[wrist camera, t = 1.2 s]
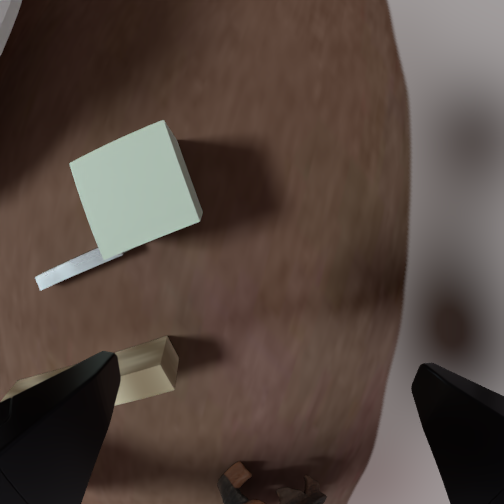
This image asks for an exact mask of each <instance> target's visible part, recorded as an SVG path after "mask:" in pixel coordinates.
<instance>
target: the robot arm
mask: <svg viewBox="0 0 504 504" xmlns="http://www.w3.org/2000/svg"><path fill="white" fill-rule="evenodd" d="M120 382H121V375H120V369H119V363H118V357H117V355H116V354H115V353H112V352H107V351H102V352H99V353H98V354H96V355H94V356H92V357H90V358H88V359H86V360H84V361H82V362H80V363H78V364H76V365H74V366H72V367H70V368H68V369H66V370H64V371H62V372H60V373H58V374H56V375H54V376H52V377H50V378H48V379H46V380H44V381H42V382H40V383H38V384H36V385H34V386H32V387H30V388H28V389H26V390H24V391H22V392H20V393H18V394H16V395H14V396H12V398H8V399H6V400H4V401H2V402H0V504H81V502H82V499H83V496H84V494H85V491H86V488H87V485H88V482H89V479H90V476H91V473H92V471H93V468H94V465H95V462H96V460H97V457H98V454H99V451H100V449H101V446H102V443H103V441H104V438H105V436H106V433H107V430H108V427H109V424H110V421H111V417H112V413H113V409H114V405H115V401H116V398H117V394H118V390H119V386H120ZM411 389H412V394H413V397H414V400H415V404H416V407H417V410H418V414H419V417H420V421H421V423H422V427H423V430H424V432H425V435H426V438H427V440H428V443H429V445H430V447H431V451H432V453H433V456H434V458H435V461H436V464H437V466H438V469H439V472H440V475H441V477H442V480H443V483H444V486H445V489H446V492H447V495H448V498H449V501H450V504H504V396H502V395H500V394H498V393H496V392H493V391H491V390H489V389H487V388H485V387H482V386H481V385H478V384H476V383H474V382H472V381H470V380H467V379H466V378H464V377H461V376H459V375H457V374H455V373H453V372H451V371H449V370H447V369H445V368H443V367H441V366H439V365H436V364H434V363H424V364H421V365H420V367H419V369H418V371H417V374H416V376H415V378H414V381H413V383H412V388H411Z"/></svg>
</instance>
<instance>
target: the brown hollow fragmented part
mask: <svg viewBox="0 0 504 504" xmlns="http://www.w3.org/2000/svg"><path fill="white" fill-rule="evenodd" d="M251 476H252V474H251V473H250V472H249V471H248V470H247V469H246V468H245V467H244V465H243V464H242V462H241V461H239V462H237V463H235V464H234V465H232V466H231V467H230V468H229V469H228V470H227V471H226V472H225V473H224V474H223V475H222V476H221V478H220V479H219V482H218V488H219V490H220V493H221V496H222V499H223V503H224V504H266V503H265V502H262V501H260V500H257V499H254V500H250V501H249V500H248V498H247V497H245V496H244V495H243V494H242V493H241V492H240V490H239V488H240V487H241V486H242V484H243V483H244V482H245V481H247V480H248V479H249V478H250V477H251ZM304 479H305V490H304V493H303V492H302V491H301V490H296V489H291V488H289V487H285V488H281V489H278V490H277V491H276V493H277V495H278V496H279V497H280V500H279V501H280V504H323V503H324V502H325V500H326V497H327V496H326V495H324V494H323V493H321V492H320V491H319V482H318V481H314V480H313V479H312V478H311V477H309V476H307V475H305V476H304Z"/></svg>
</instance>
